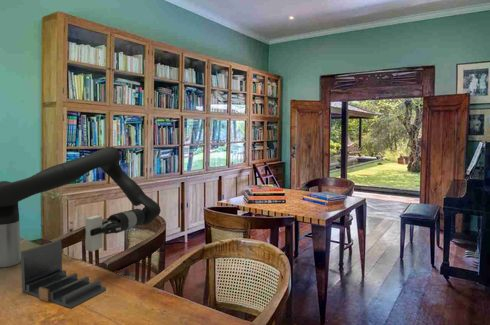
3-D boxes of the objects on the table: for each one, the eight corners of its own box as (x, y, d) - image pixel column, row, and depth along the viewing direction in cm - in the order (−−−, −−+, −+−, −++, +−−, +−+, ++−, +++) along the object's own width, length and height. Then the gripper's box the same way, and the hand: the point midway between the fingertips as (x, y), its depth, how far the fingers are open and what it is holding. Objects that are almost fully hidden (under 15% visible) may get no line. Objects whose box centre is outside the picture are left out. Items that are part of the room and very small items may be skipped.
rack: (20, 292, 118) (18, 252, 116) (59, 276, 131) (58, 239, 130) (69, 309, 108) (68, 265, 107) (106, 290, 121) (105, 250, 120)
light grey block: (85, 250, 129) (85, 218, 127) (96, 246, 133) (96, 215, 132) (91, 251, 127) (91, 219, 126) (102, 247, 132) (102, 216, 131)
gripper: (109, 210, 145) (73, 219, 129) (135, 214, 139) (101, 225, 124) (109, 227, 146) (73, 239, 130) (135, 233, 140) (101, 245, 124)
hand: (87, 232), depth 127 cm, fingers closed on light grey block, 3 cm apart
